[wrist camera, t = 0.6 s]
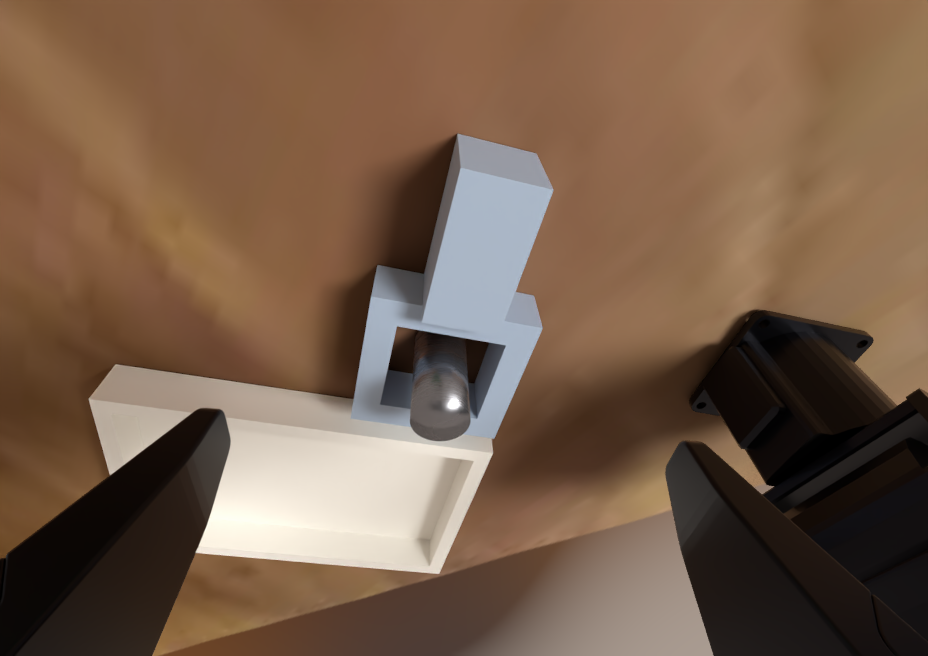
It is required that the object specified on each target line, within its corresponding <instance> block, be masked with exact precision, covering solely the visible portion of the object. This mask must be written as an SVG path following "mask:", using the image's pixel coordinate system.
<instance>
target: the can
mask: <svg viewBox="0 0 928 656" xmlns="http://www.w3.org/2000/svg"><path fill="white" fill-rule="evenodd" d="M470 422H471V418H470V403H469V388H468V372H467V357H466V341H465V338H461V337H455V336H449V335H444V334H438V333H432V332H427V331H421V330H419V331H418V333H417V335H416V337H415V348H414V363H413V379H412V394H411V410H410V425H411V428H412V429H413V431H414V432H415V433H416V434H417V435H419V436H420V437H422V438H425V439H427V440H431V441H448V440H452V439H455V438H457V437H459V436H461V435H462V434H464V433H465V432H466V431H467V429H468V428H469V426H470Z"/></svg>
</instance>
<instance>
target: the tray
mask: <svg viewBox="0 0 928 656" xmlns="http://www.w3.org/2000/svg"><path fill="white" fill-rule="evenodd" d="M353 400H354V399H349V398H342V397H335V396H329V395H322V394H315V393H308V392H301V391H295V390H288V389H281V388H274V387H267V386H261V385H254V384H247V383H240V382H233V381H226V380H220V379H213V378H206V377H199V376H192V375H186V374H179V373H172V372H165V371H158V370H152V369H145V368H138V367H131V366H124V365H118V364H115V366H114V367H113V368H112V370H111V371H110V372H109V373H108V375H107V376H106V377H105V379H104V380H103V381H102V382H101V384H100V385H99V386H98V387H97V389H96V390H95V391H94V393H93V394H92V395H91V396H90V398H89V403H90V406H91V410H92V413H93V417H94V420H95V424H96V428H97V431H98V435H99V438H100V442H101V445H102V449H103V452H104V456H105V460H106V463H107V467H108V470H109V474H110V475H111V474H112V473H114V472H115V471H116V470H118V469H119V468H120V467H122V466H123V465H124V464H126V463H127V462H128V461H130V460H131V459H132V458H133V457H135V456H136V455H137V454H139V453H140V452H141V451H143V450H144V449H145V448H147V447H148V446H149V445H151V444H152V443H153V442H155V441H156V440H157V439H158V438H160V437H161V436H162V435H164V434H165V433H166V432H168V431H169V430H170V429H172V428H173V427H174V426H176V425H177V424H178V423H180V422H181V421H182V420H183V419H185V418H186V417H187V416H189V415H190V414H191V413H193V412H194V411H195V410H197V409H199V408H215V409H221V410H223V412H224V414H225V417H226V421H227V425H228V429H229V433H230V438H231V445H230V450H229V454H228V457H227V460H226V464H225V467H224V470H223V474H222V477H221V481H220V484H219V487H218V491H217V494H216V498H215V501H214V504H213V508H212V511H211V514H210V517H209V521H208V524H207V526H206V529H205V532H204V534H203V537H202V539H201V541H200V544H199V546H198V549H197V551H196V553H203V554H215V555H227V556H238V557H250V558H261V559H273V560H284V561H296V562H307V563H319V564H331V565H342V566H354V567H365V568H377V569H388V570H400V571H411V572H423V573H435V574H439V573H440V571H441V568H442V566H443V564H444V562H445V559H446V557H447V555H448V553H449V551H450V548H451V546H452V544H453V542H454V539H455V537H456V535H457V533H458V530H459V528H460V526H461V524H462V522H463V519H464V517H465V515H466V513H467V510H468V508H469V506H470V504H471V501H472V499H473V497H474V495H475V493H476V490H477V488H478V486H479V484H480V481H481V479H482V477H483V475H484V472H485V470H486V468H487V466H488V463H489V461H490V459H491V457H492V455H493V448H492V438H486V437H478V436H471V435H464V434H462V435H461V436H459V437H457V438H455V439H452V440H448V441H431V440H427V439H425V438H422V437H420V436H419V435H417V434H416V433H415V432H414V431H413V429H412V428H411V427H407V426H400V425H393V424H385V423H378V422H371V421H364V420H357V419H350V418H351V412H352V406H353Z"/></svg>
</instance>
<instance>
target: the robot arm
mask: <svg viewBox="0 0 928 656" xmlns="http://www.w3.org/2000/svg"><path fill="white" fill-rule="evenodd" d="M763 320H764V321H763ZM761 321H763V322H761ZM760 322H761V323H760ZM872 343H873V338H872V337H871V336H870V335H869V334H868V333H867V332H865V331H861V330H857V329H852V328H847V327H842V326H838V325H833V324H828V323H823V322H819V321H814V320H809V319H804V318H800V317H795V316H790V315H785V314H780V313H776V312H771V311H766V310H762V311H758V312H756V313H754V314H753V315H752V316H751V317H750V318H749V320H748V321H747V322H746V324H745V325H744V326H743V328H742V329H741V330H740V332H739V333H738V335H737V336H736V337H735V339H734V340H733V341H732V343H731V344H730V345H729V347H728V348H727V349H726V351H725V352H724V353H723V355H722V356H721V357H720V359H719V360H718V362H717V363H716V364H715V366H714V367H713V368H712V370H711V371H710V372H709V374H708V375H707V376H706V378H705V379H704V380H703V382H702V383H701V384H700V386H699V387H698V389H697V390H696V391H695V393H694V394H693V395H692V397H691V398H690V400H689V405H690V406H691V408H692V410H693V411H695V412H700V413H706V414H712V415H718V416H721V418H722V419H723V421H724V422H725V424H726V426H727V427H728V429H729V431H730V432H731V434H732V436H733V437H734V439H735V441H736V442H737V444H738V446H739V447H740V448H741V449H745V451H746V452H747V454H748V455H749V457H750V459H751V460H752V462H753V464H754V465H755V467H756V469H757V470H758V472H759V473H760V475H761V477H762V478H763V480H764V482H765V483H766V485H769V486H774V487H773V488H771V489H770V490H768V491H767V492H765V493H764V494H761V493H759V492H758V491H757V490H756V489H755V488H754V487H753V486H752V485H751V484H749V483H748V482H747V481H746V480H745V479H744V478H743V477H742V476H740V475H739V474H738V473H737V472H736V471H735V470H734V469H733V468H732V467H730V466H729V465H728V464H727V463H726V462H725V461H724V460H723V459H721V458H720V457H719V456H718V455H717V454H716V453H715V452H714V451H712V450H711V449H710V448H709V447H708V446H707V445H706V444H704V443H702V442H698V441H682V442H680V443H679V445H678V446H677V448H676V450H675V451H674V453H673V455H672V457H671V458H670V460H669V462H668V464H667V466H666V472H665V473H666V481H667V486H668V491H669V496H670V501H671V506H672V511H673V516H674V521H675V525H676V530H677V536H678V540H679V544H680V548H681V552H682V555H683V559H684V562H685V565H686V569H687V572H688V575H689V578H690V581H691V584H692V588H693V591H694V594H695V598H696V601H697V604H698V607H699V610H700V613H701V617H702V620H703V623H704V626H705V629H706V633H707V636H708V639H709V642H710V645H711V649H712V652H713V655H714V656H928V393H927V392H925V391H923V390H922V389H920V388H919V389H917V390H916V391H914V392H913V393H911V394H910V395H908V396H907V397H906V398H907V400H906V401H904V402H902V403H901V404H899V405H898V406H897V405H896V404H895V403H894V402H893V401H892V400H891V399H890V398H889V397H888V396H887V395H886V394H885V393H884V392H883V391H882V390H881V389H880V388H879V387H878V386H877V385H876V384H875V383H874V382H873V381H872V380H871V379H870V378H869V377H868V376H867V375H866V374H865V373H864V372H863V371H862V370H861V369H860V368H859V367H858V366H857V365H856V364H855V362H856V361H857V359H858V358H859V357H860V356H861V355H862V354H863V353H864V352H865V351H866V350H867V349H868V348H869V347H870V346H871V345H872ZM230 445H231V438H230V433H229V429H228V425H227V421H226V417H225V414H224V412H223V410H221V409H215V408H199V409H197V410H195V411H194V412H193V413H191V414H190V415H189V416H187V417H186V418H185V419H183V420H182V421H181V422H180V423H178V424H177V425H176V426H174V427H173V428H172V429H170V430H169V431H168V432H166V433H165V434H164V435H162V436H161V437H160V438H158V439H157V440H156V441H155V442H153V443H152V444H151V445H149V446H148V447H147V448H145V449H144V450H143V451H141V452H140V453H139V454H137V455H136V456H135V457H133V458H132V459H131V460H130V461H128V462H127V463H126V464H124V465H123V466H122V467H120V468H119V469H118V470H116V471H115V472H114V473H112V474H111V475H110V476H109V477H107V478H106V479H105V480H103V481H102V482H101V483H99V484H98V485H97V486H95V487H94V488H93V489H91V490H90V491H89V492H87V493H86V494H85V495H84V496H82V497H81V498H80V499H78V500H77V501H76V502H74V503H73V504H72V505H70V506H69V507H68V508H66V509H65V510H64V511H62V512H61V513H60V514H59V515H57V516H56V517H55V518H53V519H52V520H51V521H49V522H48V523H47V524H45V525H44V526H43V527H41V528H40V529H39V530H37V531H36V532H35V533H34V534H32V535H31V536H30V537H28V538H27V539H26V540H24V541H23V542H22V543H20V544H19V545H18V546H16V547H15V548H14V549H13V550H11V551H10V552H9V553H7V555H6V558H1V559H0V656H152V655H153V652H154V650H155V648H156V645H157V643H158V641H159V638H160V636H161V633H162V631H163V629H164V626H165V624H166V622H167V619H168V617H169V615H170V612H171V610H172V608H173V605H174V603H175V600H176V598H177V596H178V593H179V591H180V589H181V586H182V584H183V582H184V579H185V577H186V575H187V572H188V570H189V567H190V565H191V563H192V560H193V558H194V556H195V553H196V551H197V549H198V546H199V544H200V541H201V539H202V537H203V534H204V532H205V529H206V526H207V524H208V521H209V517H210V514H211V511H212V508H213V504H214V501H215V498H216V494H217V491H218V487H219V484H220V481H221V477H222V474H223V470H224V467H225V464H226V460H227V457H228V454H229V450H230Z"/></svg>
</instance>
